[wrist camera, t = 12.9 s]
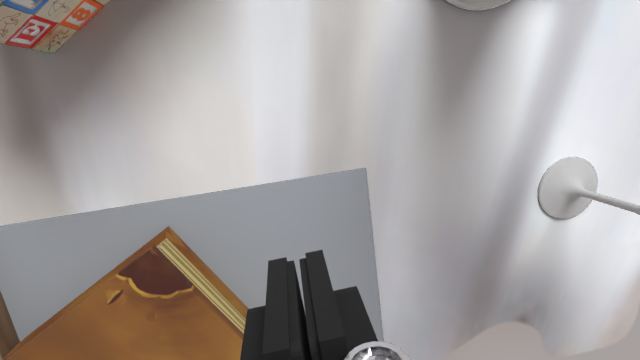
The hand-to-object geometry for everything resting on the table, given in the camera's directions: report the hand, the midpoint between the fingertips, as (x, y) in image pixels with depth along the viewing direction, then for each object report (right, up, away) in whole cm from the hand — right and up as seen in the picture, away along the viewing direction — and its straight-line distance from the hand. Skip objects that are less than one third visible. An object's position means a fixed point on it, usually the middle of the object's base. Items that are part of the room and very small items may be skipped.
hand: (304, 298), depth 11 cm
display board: (-12, -11, +27) cm, 31 cm away
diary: (-15, -15, +28) cm, 35 cm away
